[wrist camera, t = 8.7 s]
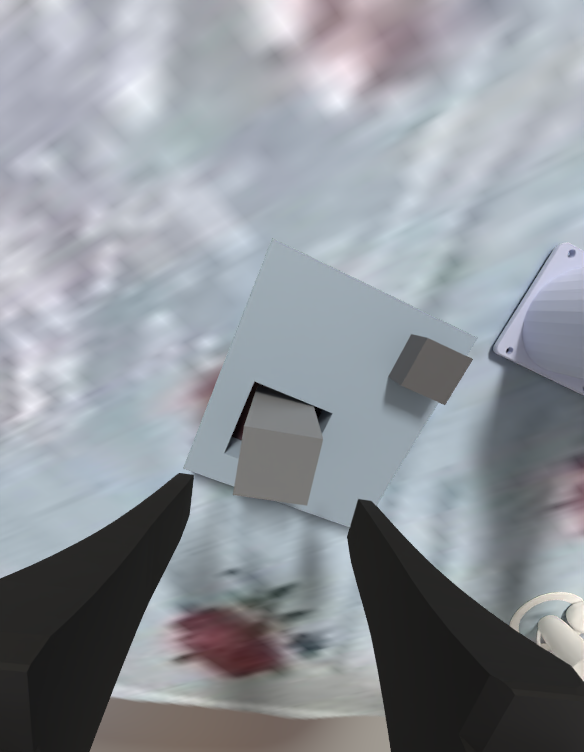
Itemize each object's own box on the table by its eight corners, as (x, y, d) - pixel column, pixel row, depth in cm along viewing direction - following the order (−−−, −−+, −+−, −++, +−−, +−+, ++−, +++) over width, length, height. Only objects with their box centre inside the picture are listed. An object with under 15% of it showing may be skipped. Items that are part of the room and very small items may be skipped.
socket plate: (453, 333, 19) (502, 341, 15) (352, 507, 23) (368, 555, 19) (273, 247, 18) (270, 228, 13) (194, 450, 21) (171, 487, 17)
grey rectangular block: (310, 394, 20) (323, 439, 14) (299, 442, 21) (307, 505, 15) (257, 385, 20) (243, 425, 13) (249, 433, 21) (232, 494, 14)
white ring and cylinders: (601, 586, 27) (657, 635, 23) (579, 644, 29) (626, 698, 25) (514, 587, 26) (555, 637, 22) (498, 646, 28) (532, 701, 24)
